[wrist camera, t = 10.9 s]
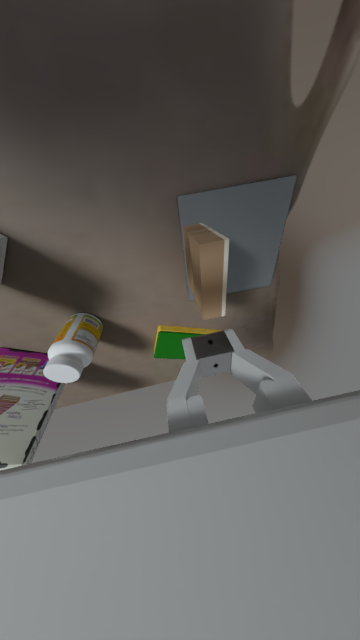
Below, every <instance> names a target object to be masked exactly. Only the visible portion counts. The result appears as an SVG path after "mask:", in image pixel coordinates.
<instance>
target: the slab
mask: <svg viewBox="0 0 360 640" xmlns="http://www.w3.org/2000/svg"><path fill="white" fill-rule="evenodd" d="M182 227H183V236H184V246H185V255H186V264H187V273H188V283H189V287H190V289H191V291H192V294H193V296H194V299H195V301H196V304H197V306H198V308H199V311H200V313H201V316H202V318H203V320H206V319H211V318H216V317H222V316H225V307H226V289H227V272H228V254H229V238H227V237H225V236H224V235H222V234H220V233H218V232H217V231H215V230H213V229H212V228H210V227H208V226H207V225H205V224H203V223H199V224H193V225H187V226H182Z"/></svg>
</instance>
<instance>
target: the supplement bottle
mask: <svg viewBox="0 0 360 640" xmlns="http://www.w3.org/2000/svg"><path fill="white" fill-rule="evenodd" d="M102 330H103V325H102V323H101V321H100V320H99V319H98V318H97V317H95V316H93V315H91V314H88V313H77V314H74V315H72V316H71V317H70V318H69V319H68V320H67V322H66V323H65V325H64V326H63V328H62V330H61V331H60V333H59V334H58V336H57V337H56V339H55V340H54V342H53V343H52V345H51V346H50V348H49V350H48V358H49V361H48V362H47V364H46V366H45V368H44V370H43V374H44V376H45V377H46V378H48V379H49V380H52V381H54V382H59V383H70V382H74V381H76V380H78V379H79V378H80V376H81V373H82V371H83V368H85V367H87V366H88V365H89V364H90V363H91V361H92V359H93V356H94V353H95V350H96V347H97V345H98V342H99V339H100V336H101V333H102Z"/></svg>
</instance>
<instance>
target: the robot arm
mask: <svg viewBox="0 0 360 640" xmlns="http://www.w3.org/2000/svg"><path fill="white" fill-rule="evenodd" d="M182 343H183V348H184V353H185V357H186V362H185V363H184V364H183V366H182V368H181V370H180V373H179V375H178V377H177V379H176V381H175V384H174V386H173V388H172V390H171V392H170V394H169V397H168V399H167V414H168V427H169V433H166V434H161V435H157V436H152V437H148V438H143V439H139V440H134V441H130V442H125V443H121V444H116V445H112V446H107V447H103V448H99V449H94V450H89V451H85V452H80V453H76V454H72V455H67V456H63V457H58V458H54V459H49V460H45V461H40V462H36V463H31V464H27V465H22V466H18V467H13V468H9V469H5V470H0V640H360V390H358V391H354V392H350V393H345V394H341V395H336V396H331V397H327V398H323V399H318V400H314V401H312V400H311V398H310V397H309V396H308V394H307V393H306V392H305V391H304V389H303V388H302V387H301V385H300V384H299V383H298V381H297V380H296V379H295V377H294V376H293V375H292V374H291V373H289V372H288V371H286V370H284V369H282V368H281V367H279V366H277V365H275V364H274V363H272V362H270V361H268V360H266V359H265V358H263V357H261V356H259V355H258V354H256V353H254V352H252V351H250V350H249V349H245V348H244V347H243V345H242V344H241V342H240V340H239V339H238V337H237V335H236V334H235V332H234V330H233V329H232V328H231V329H227V330H222V331H218V332H213V333H209V334H205V335H200V336H195V337H190V338H185V339H182ZM228 372H231V374H233V375H234V376H235V377H236V378H237V379H238V380H240V381H241V382H242V383H243V384H244V385H246V386H247V387H248V388H249V389H250V390H251V391H253V392H254V393H255V394H256V397H255V400H254V403H253V408H254V411H255V414H251V415H246V416H242V417H238V418H233V419H228V420H225V421H220V422H215V423H210V424H208V420H207V416H206V413H205V409H204V405H203V401H202V397H201V396H199V395H198V392H199V388H200V385H201V381H202V378H205V377H209V376H213V375H218V374H223V373H228Z"/></svg>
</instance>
